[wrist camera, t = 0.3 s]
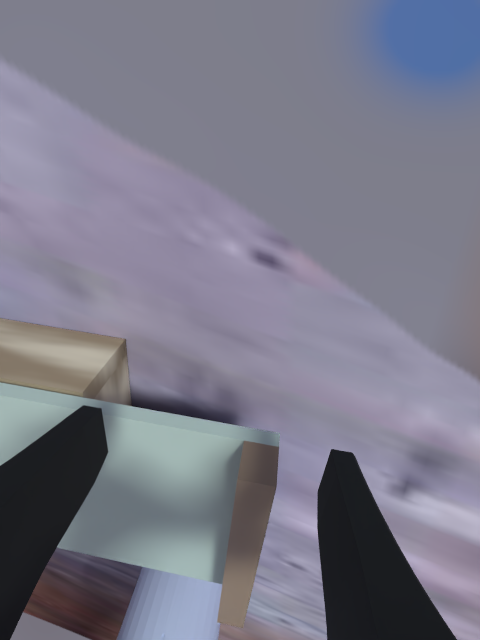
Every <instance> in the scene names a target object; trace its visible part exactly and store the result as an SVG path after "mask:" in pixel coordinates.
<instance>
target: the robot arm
mask: <svg viewBox="0 0 480 640" xmlns="http://www.w3.org/2000/svg"><path fill="white" fill-rule="evenodd" d="M107 454H108V446H107V440H106V433H105V427H104V421H103V415H102V408H97V407H91V406H86V405H83V406H81V407H80V408H79V409H77V410H76V411H75V412H73V413H72V414H70V415H69V416H68V417H66V418H65V419H64V420H62V421H61V422H60V423H58V424H57V425H56V426H55V427H53V428H52V429H51V430H49V431H48V432H46V433H45V434H44V435H42V436H41V437H40V438H38V439H37V440H36V441H34V442H33V443H32V444H30V445H29V446H27V447H26V448H25V449H23V450H22V451H21V452H19V453H18V454H16V455H15V456H14V457H12V458H11V459H9V460H8V461H6V462H5V463H3V464H2V465H1V466H0V640H10V638H11V636H12V634H13V632H14V630H15V628H16V626H17V623H18V621H19V619H20V617H21V615H22V613H23V611H24V609H25V607H26V605H27V602H28V600H29V598H30V596H31V594H32V592H33V590H34V588H35V586H36V584H37V582H38V580H39V578H40V576H41V574H42V572H43V570H44V569H45V567H46V565H47V563H48V561H49V559H50V558H51V556H52V554H53V553H54V551H55V549H56V548H57V546H58V544H59V543H60V541H61V539H62V538H63V536H64V534H65V532H66V531H67V529H68V527H69V526H70V524H71V522H72V521H73V519H74V517H75V516H76V514H77V512H78V511H79V509H80V507H81V506H82V504H83V502H84V500H85V499H86V497H87V495H88V494H89V492H90V490H91V488H92V487H93V485H94V483H95V481H96V479H97V477H98V475H99V472H100V470H101V468H102V466H103V463H104V461H105V459H106V456H107ZM318 539H319V549H320V560H321V570H322V581H323V591H324V601H325V612H326V624H327V640H457V639H456V637H455V636H454V635H453V633H452V632H451V630H450V629H449V627H448V626H447V624H446V623H445V621H444V620H443V618H442V617H441V615H440V614H439V612H438V610H437V609H436V607H435V606H434V604H433V603H432V601H431V600H430V598H429V596H428V595H427V593H426V592H425V590H424V588H423V587H422V585H421V584H420V582H419V580H418V579H417V577H416V575H415V574H414V572H413V570H412V568H411V567H410V565H409V563H408V562H407V560H406V558H405V556H404V555H403V553H402V551H401V549H400V547H399V546H398V544H397V542H396V540H395V538H394V537H393V535H392V533H391V531H390V529H389V527H388V525H387V523H386V521H385V519H384V518H383V516H382V514H381V512H380V510H379V508H378V506H377V504H376V502H375V500H374V498H373V495H372V493H371V491H370V489H369V487H368V485H367V483H366V481H365V478H364V476H363V474H362V472H361V469H360V467H359V465H358V462H357V460H356V458H355V456H354V454H353V453H351V452H345V451H339V450H334V449H331V452H330V455H329V458H328V461H327V464H326V467H325V471H324V474H323V477H322V480H321V483H320V486H319V489H318ZM221 591H222V584H218V583H214V582H209V581H205V580H200V579H196V578H191V577H187V576H182V575H178V574H173V573H169V572H164V571H160V570H155V569H151V568H146V567H142V569H141V572H140V575H139V578H138V581H137V584H136V586H135V589H134V592H133V595H132V598H131V600H130V603H129V606H128V609H127V612H126V615H125V617H124V620H123V623H122V626H121V629H120V632H119V634H118V637H117V640H218V635H219V629H220V623H218V622H217V619H218V612H219V605H220V598H221Z"/></svg>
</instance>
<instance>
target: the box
mask: <svg viewBox="0 0 480 640" xmlns="http://www.w3.org/2000/svg"><path fill="white" fill-rule="evenodd" d="M0 382H1V383H7V384H12V385H18V386H23V387H29V388H34V389H40V390H45V391H51V392H56V393H62V394H67V395H72V396H78V397H83V398H89V399H94V400H100V401H105V402H111V403H116V404H122V405H127V406H132V404H131V393H130V382H129V372H128V361H127V350H126V339H122V338H116V337H110V336H104V335H98V334H92V333H85V332H79V331H73V330H67V329H61V328H55V327H49V326H43V325H37V324H31V323H25V322H19V321H13V320H7V319H1V318H0Z"/></svg>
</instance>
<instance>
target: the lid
mask: <svg viewBox="0 0 480 640" xmlns="http://www.w3.org/2000/svg"><path fill="white" fill-rule="evenodd" d="M83 405H86V406H91V407H97V408H102V415H103V421H104V427H105V433H106V440H107V446H108V454H107V456H106V459H105V461H104V463H103V466H102V468H101V470H100V472H99V475H98V477H97V479H96V481H95V483H94V485H93V487H92V488H91V490H90V492H89V494H88V495H87V497H86V499H85V500H84V502H83V504H82V506H81V507H80V509H79V511H78V512H77V514H76V516H75V517H74V519H73V521H72V522H71V524H70V526H69V527H68V529H67V531H66V532H65V534H64V536H63V538H62V539H61V541H60V543H59V544H58V546H57V548H60V549H65V550H69V551H74V552H78V553H83V554H87V555H92V556H96V557H101V558H105V559H110V560H114V561H119V562H123V563H128V564H132V565H137V566H141V567H146V568H151V569H155V570H160V571H164V572H169V573H173V574H178V575H182V576H187V577H191V578H196V579H200V580H205V581H209V582H214V583H218V584H222V591H221V598H220V605H219V612H218V619H217V622H218V623H223V624H227V625H231V626H236V627H240V628H243V625H244V621H245V617H246V613H247V609H248V604H249V600H250V596H251V592H252V587H253V583H254V579H255V575H256V571H257V566H258V562H259V558H260V554H261V550H262V545H263V541H264V537H265V533H266V529H267V524H268V520H269V516H270V512H271V508H272V503H273V499H274V495H275V491H276V485H277V470H278V454H279V438H280V433H276V432H270V431H265V430H259V429H254V428H248V427H243V426H237V425H232V424H226V423H221V422H215V421H210V420H204V419H199V418H193V417H188V416H182V415H177V414H171V413H166V412H160V411H155V410H149V409H144V408H138V407H133V406H127V405H122V404H116V403H111V402H105V401H100V400H94V399H89V398H83V397H78V396H72V395H67V394H62V393H56V392H51V391H45V390H40V389H34V388H29V387H23V386H18V385H12V384H7V383H1V382H0V466H1V465H2V464H3V463H5V462H6V461H8V460H9V459H11V458H12V457H14V456H15V455H16V454H18V453H19V452H21V451H22V450H23V449H25V448H26V447H27V446H29V445H30V444H32V443H33V442H34V441H36V440H37V439H38V438H40V437H41V436H42V435H44V434H45V433H46V432H48V431H49V430H51V429H52V428H53V427H55V426H56V425H57V424H58V423H60V422H61V421H62V420H64V419H65V418H66V417H68V416H69V415H70V414H72V413H73V412H75V411H76V410H77V409H79V408H80V407H81V406H83Z"/></svg>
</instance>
